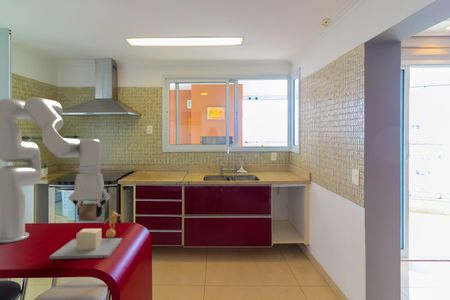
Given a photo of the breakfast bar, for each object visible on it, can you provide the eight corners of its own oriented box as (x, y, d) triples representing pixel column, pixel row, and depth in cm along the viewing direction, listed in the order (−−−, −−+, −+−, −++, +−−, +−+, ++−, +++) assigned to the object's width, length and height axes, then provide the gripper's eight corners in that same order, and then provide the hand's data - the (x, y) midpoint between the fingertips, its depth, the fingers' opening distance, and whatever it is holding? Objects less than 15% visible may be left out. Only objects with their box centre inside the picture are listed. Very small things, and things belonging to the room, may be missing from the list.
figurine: (115, 235, 132) (116, 208, 133) (124, 237, 129) (124, 210, 129) (99, 239, 125) (99, 211, 126) (108, 242, 122) (108, 213, 122)
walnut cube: (78, 221, 111) (78, 205, 111) (84, 217, 117) (84, 202, 117) (95, 220, 111) (95, 205, 111) (100, 217, 117) (100, 202, 117)
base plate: (49, 259, 103) (49, 239, 103) (73, 241, 123) (73, 224, 123) (108, 257, 105) (108, 238, 105) (122, 240, 125) (122, 224, 125)
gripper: (62, 171, 109) (62, 219, 109) (109, 171, 111) (109, 218, 111) (71, 170, 117) (70, 215, 117) (115, 169, 119) (115, 214, 118)
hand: (89, 216), depth 114 cm, fingers closed on walnut cube, 6 cm apart
